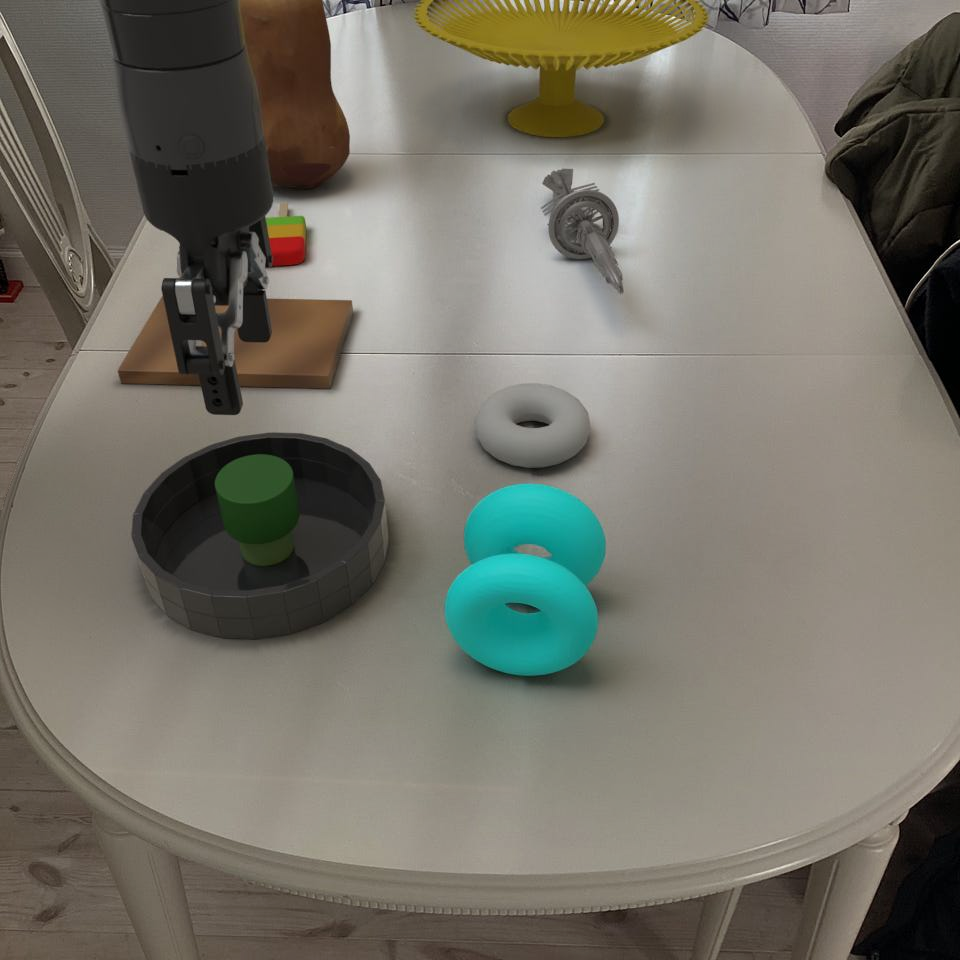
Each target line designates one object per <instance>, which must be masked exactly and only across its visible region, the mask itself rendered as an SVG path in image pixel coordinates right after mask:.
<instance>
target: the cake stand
mask: <svg viewBox="0 0 960 960" xmlns="http://www.w3.org/2000/svg"><path fill="white" fill-rule="evenodd" d="M472 1H473V2H474V3H475V4H476V6H475V5H474V4H473V3H472V2H471V1H470V0H462V2H463V3H465V4H466V6H467V7H466V6H465V5H464V4H463V3H461V1H459V0H452V2H453V3H455V4H456V5H457V6H458V7H459V8H457V6H456V5H454V4H453V3H452V2H451V1H449V0H441V1H440V0H419V2H420V3H419V4H418V3H417V4H416V6H417V7H413V8H412V9H413V10H414V12H412V14H413V15H414V16H412V18H413V19H415V20H414V22H415V23H417V26H418V27H420V28H421V29H422V31H424V32H426V33H427V34H428V35H430V36H433V37H434V38H436V39H439V40H441V41H443V42H445V43H448V44H449V45H452V46H454V47H455V48H458V49H461V50H463V51H465V52H467V53H470V54H472V55H473V56H476V57H478V58H481V59H483V60H487V61H489V62H491V63H493V62H494V63H496V64H503V65H506V66H513V67H515V68H518V67H520V66H521V67H523V68H525V69H528V68H529V67H531V68H532V69H533V70H538V69H539V82H538V84H539V85H538V97H537V98H535V99H533V100H530V101H528V102H525V103H524V104H522V105H520V106H517V107H515V108H514V109H512V110H511V111H510V112H509V114H508V116H507V121H508V123H509V125H510V126H511V127H513V128H514V129H515V130H517V131H519V132H521V133H525V134H528V135H531V136H537V137H546V138H571V137H578V136H583V135H587V134H590V133H593V132H595V131H597V130H599V129H600V128H601V127H602V126H603V124H604V122H605V117H604V115H603V114H602V112H601V111H599V110H598V109H597V108H594V107H593V106H591V105H590V104H588V103H587V104H586V103H585V102H583V101H581V100H578V99H577V98H575V97H576V96H575V93H576V76H577V71H579V70H580V69H582V68H584V69H585V70H589V69H592V68H595V70H596V69H600V68H602V67H604V68H608V67H611V66H614V67H616V66H618V65H620V64H621V65H624V64H626V63H631V62H633V61H637V60H639V59H642V58H644V57H648V56H649V55H652V54H655V53H657V52H659V51H662V50H665V49H668V48H669V47H672V46H674V45H677V44H680V43H682V42H684V41H687V40H689V39H691V37H693V36H696V35H698V33H699V32H702V31H703V30H704V29H703V28H705V27H707V26H708V25H707V24H709V23H710V22H711V21H710V20H709V19H710V18H711V16H709V15H710V12H708V11H707V10H708V8H705V7H704V6H705V4H703V3H699V2H700V0H678V1H677V0H668V1H667V2H666V3H664V4H663V5H662V6H661V7H659V6H660V5H661V4H662V3H663V2H665V1H666V0H657V1H656V2H655V3H654V4H652V3H653V2H654V0H646V1H645V2H644V3H643V5H641V3H642V2H643V1H644V0H635V2H634V3H633V4H631V5H630V3H631V2H632V1H633V0H625V1H624V2H623V3H622V4H621V5H620V7H618V6H619V4H620V3H621V2H622V0H614V2H613V3H612V4H611V6H610V7H609V5H610V2H611V1H612V0H604V1H603V3H602V5H601V6H600V7H599V5H600V2H601V0H594V1H593V3H592V5H591V6H590V8H589V5H590V3H591V0H583V3H582V5H581V8H580V9H579V7H580V1H581V0H573V3H572V7H571V9H570V1H571V0H563V5H562V8H561V2H560V1H561V0H553V8H551V1H550V0H543V7H542V5H541V2H540V1H541V0H533V3H534V4H533V5H534V7H533V5H532V3H531V1H530V0H523V3H524V6H523V4H522V3H521V1H520V0H513V2H514V4H515V6H514V5H513V4H512V2H511V1H510V0H503V3H504V4H505V6H506V7H505V6H504V5H503V3H502V2H501V1H500V0H493V2H494V3H495V5H496V6H497V7H496V6H495V5H494V4H493V3H492V2H491V1H490V0H482V2H484V4H485V5H486V6H487V7H488V8H487V7H486V6H485V5H484V4H483V3H482V2H481V1H480V0H472ZM676 1H677V2H676ZM675 2H676V3H675ZM686 2H687V3H686ZM443 3H444V4H446V5H447V6H448V7H449V8H448V7H447V6H446V5H444V4H443ZM673 3H675V4H674V5H672V4H673ZM435 4H436V5H435ZM650 4H652V6H650V7H649V5H650ZM683 4H684V5H683ZM629 5H630V6H629ZM639 5H641V6H640V7H638V6H639ZM670 5H672V6H671V7H669V6H670ZM681 5H683V6H682V7H680V6H681ZM477 6H478V7H479V8H478V7H477ZM628 6H629V7H628ZM439 7H440V8H441V9H440V8H439ZM468 7H469V8H468ZM627 7H628V8H627ZM637 7H638V8H637ZM647 7H649V8H647ZM657 7H659V8H658V9H656V8H657ZM668 7H669V8H668ZM678 7H680V8H679V9H677V8H678ZM450 8H451V9H452V10H453V11H452V10H451V9H450ZM636 8H637V9H636ZM646 8H647V9H646ZM666 8H668V9H667V10H666V11H664V10H665V9H666ZM687 8H688V9H687ZM442 9H443V10H444V11H446V12H447V13H449V14H447V13H446V12H444V11H443V10H442ZM470 9H471V10H470ZM635 9H636V10H635ZM645 9H646V10H645ZM655 9H656V10H655ZM675 9H677V10H676V11H674V10H675ZM434 10H435V11H434ZM462 10H463V11H462ZM654 10H655V11H654ZM454 11H455V12H454ZM663 11H664V12H663ZM673 11H674V12H673ZM682 11H684V12H682ZM693 11H694V12H693ZM661 12H662V13H661ZM671 12H673V13H671ZM681 12H682V13H681ZM691 12H692V13H691ZM650 13H651V14H650ZM670 13H671V14H670ZM689 13H691V14H689ZM668 14H670V15H668ZM678 14H679V15H678ZM688 14H689V15H688ZM433 15H434V16H433ZM667 15H668V16H667ZM676 15H677V16H676ZM686 15H687V16H686ZM685 16H686V17H685ZM673 17H674V18H673ZM681 18H682V19H681ZM689 23H690V24H689Z"/></svg>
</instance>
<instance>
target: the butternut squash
mask: <svg viewBox="0 0 960 960" xmlns="http://www.w3.org/2000/svg"><path fill="white" fill-rule="evenodd" d="M239 2H240V8H241V15H242V22H243V28H244V35H245V41H246V46H247V51H248V56H249V60H250V63H251V67H252V70H253V73H254V77H255V81H256V85H257V90H258V96H259V103H260V110H261V117H262V124H263V131H264V136H265V143H266V150H267V157H268V164H269V170H270V177H271V184H272V186H275V187H278V188H295V189H298V190H303V191H307V190H311V189H313V188H317V187H321V186H322V185H323V184H325V182H327V181H328V180H329V179H330V178H332V177H333V176H334V175H335V174H336V173H337V172H339V171H340V170H341V169H342V167H343V166H344V165H345V163H346V162H347V160H348V158H349V156H350V153H351V152H350V151H351V150H350V149H351V148H350V144H351V143H350V142H351V135H350V128H349V125H348V121H347V118H346V116H345V113H344V111H343V109H342V107H341V105H340V103H339V101H338V99H337V97H336V95H335V92H334V90H333V89H334V88H333V85H332V84H333V83H332V43H331V36H330V29H329V25H328V19H327V16H326V10H325V6H324V2H323V0H239Z"/></svg>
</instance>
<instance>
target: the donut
mask: <svg viewBox="0 0 960 960" xmlns="http://www.w3.org/2000/svg"><path fill="white" fill-rule="evenodd" d="M524 422H539V423H544V424H546V425H545V426H542V427H525V426H521V425H518V424H520V423H524ZM474 426H475V427H474V428H475V436H476V438H477V439H478V441H479V443H480V444H481V446H482V448H483V449H484V450H485V451H486V452H487V453H489V454H490V455H491V456H492V457H494V458H495V459H497V460H498V461H501V462H503V463H506V464H508V465H511V466H514V467H519V468H526V469H536V468H537V469H538V468H540V469H541V468H547V467H552V466H555V465H559V464H560V465H561V464H562V463H564V462H566V461H568V460H570V459H571V458H573V457H575V456H576V455H577V454H578V453H579V452H580V451H581V450H582V449H583V448H584V447H585V446H586V444H587V441H588V440H589V439H588V438H589V435H590V432H591V429H592V428H591V427H592V426H591V420H590V417H589V412H588V410H587V408H586V407H585V405H583V403H582V402H581V400H580V399H578V398H577V397H576V396H574V395H573V394H571V393H570V392H568V391H567V390H565V389H563V388H560V387H557V386H554V385H550V384H545V383H544V384H543V383H537V382H535V383H532V382H531V383H518V384H515V385H509V386H506V387H504V388H501V389H499V390H497V391H496V392H494V393H492V394H490V396H488V397H487V398H486V399H485V400H484V401H483V402H482V403H481V405H480V407H479V409H478V410H477V413H476V415H475V419H474Z"/></svg>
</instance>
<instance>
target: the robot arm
mask: <svg viewBox="0 0 960 960" xmlns="http://www.w3.org/2000/svg"><path fill="white" fill-rule="evenodd" d="M98 2H99V6H100V12H101V16H102V20H103V24H104V28H105V33H106V37H107V41H108V46H109V50H110V55H111V57H112V64H113V71H114V81H115V91H116V100H117V104H118V109H119V114H120V118H121V122H122V127H123V131H124V134H125V138H126V143H127V147H128V152H129V157H130V160H131V164H132V170H133V173H134V177H135V181H136V186H137V190H138V193H139V198H140V203H141V207H142V212H143V214H144V217H145V219H146V221H148V223H149V224H150V225H152V227H154V228H156V229H157V230H159V231H162V232H164V233H166V234H168V235H170V236H171V237H172V238H174V239H175V240H176V241H177V242H178V244H179V246H178V248H179V250H178V251H177V256H176V273H177V275H178V277H164V278H163V279H162V281H161V294H162V296H163V300H164V304H165V309H166V314H167V319H168V324H169V328H170V333H171V338H172V343H173V348H174V352H175V357H176V362H177V367H178V371H179V373H180V374H198V375H199V380H200V384H201V385H200V388H201V393H202V397H203V402H204V407H205V410H206V411H207V412H208V413H209V414H211V415H213V416H237V415H239V414H241V411H242V408H243V406H244V401H243V396H242V390H241V386H240V385H239V380H238V375H237V369H236V364H235V360H234V359H235V356H234V332H235V330H236V329H237V330H238V336H239V338H240V339H241V340H242V341H244V342H268V341H269V340H270V337H271V335H272V328H271V322H270V315H269V309H268V303H267V299H268V297H267V292H266V290H268V286H269V283H270V278H269V276H268V273H267V270H266V269H271V268H272V267H273V266H272V263H273V256H272V252H271V246H270V240H269V235H268V229H267V223H266V218H267V217H266V216H267V215H268V214H269V212H270V211H271V209H272V207H273V205H274V192H273V191H274V190H273V184H271V177H270V170H269V164H268V157H267V150H266V143H265V136H264V131H263V124H262V117H261V110H260V103H259V96H258V90H257V85H256V81H255V77H254V73H253V70H252V67H251V63H250V60H249V56H248V51H247V46H246V41H245V35H244V28H243V22H242V15H241V8H240V2H239V0H98ZM228 305H229V307H228V309H227V311H226V312H224V313H216V310H215V306H228ZM219 328H220V329H221V339H220V333H219ZM202 341H204V342H205V343H206V345H207V346H202Z"/></svg>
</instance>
